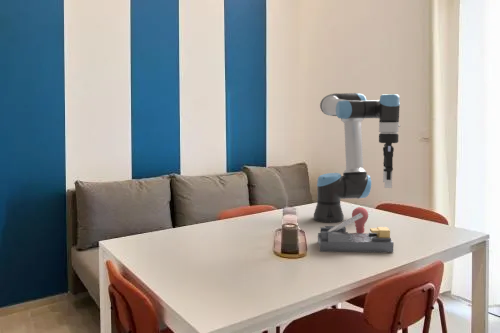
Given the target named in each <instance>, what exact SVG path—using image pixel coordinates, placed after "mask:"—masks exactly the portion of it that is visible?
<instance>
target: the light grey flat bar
mask: <svg viewBox="0 0 500 333" xmlns="http://www.w3.org/2000/svg"><path fill="white" fill-rule="evenodd" d="M362 217H363V215H362V214H361V213H359V214H357V215H356V216H354V217H352V216H351V217H350V218H349V219H347V220H343V221H342V222H341V223H339V224H337V225H334V226H335V227H333V228H331V229H330V230H328V232H336V231H338V230H339V229H341V228H343V227H345V228H346V227H347V226H349V225H351V224H352V223H355V222H354V221H356V220H358V219H360V218H362Z"/></svg>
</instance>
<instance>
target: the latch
mask: <svg viewBox="0 0 500 333" xmlns="http://www.w3.org/2000/svg"><path fill="white" fill-rule="evenodd" d="M369 232H370V233H377V237H378V238H391V230H390V228H389V227H388V226H377V227H375V228H374V227H369Z"/></svg>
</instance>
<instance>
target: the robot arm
mask: <svg viewBox="0 0 500 333" xmlns="http://www.w3.org/2000/svg"><path fill="white" fill-rule="evenodd" d="M400 100H401V99H400V95H399V94H394V93H391V94H390V93H386V94H381V95H380V97H379V99H377V100H375V99H373V100H371V99H370V100H367V97H366V96H365V95H364V94H363V93H359V92H358V93H356V92H353V93H352V92H349V93H347V92H346V93H331V94H328V95H326V96H324V97H323V98H322V99H321V101H320V104H319V107H320V111H321V112H322V113H323V114H324V115H326V116H330V117H337V118H338V119H340V121H341V122H343V124H344V125H343V127H344V146H345V147H344V148H345V149H344V150H345V170H344V171H343V172H342V174H343V175H342V174H341V173H340V172H329V173H328V172H327V173H324V174H321V175H319V176H318V177H317V182H316V188H317V190H316V191H317V192H316V194H317V195H316V207H315V209H314V213H313V219H314V220H315V221H317V222H320V223H329V224H330V223H340V222H344V221H345V220H344V213H343V209H342V206H341V200H342V199H343V200H345V199H350V200H351V199H358V200H359V199H365V198H367V197H368V196H369V195H370V193H371V190H372V179H371V175H369V174H367V173H368V172H367V171H366V169H365V168H364V156H363V155H364V154H363V153H364V152H363V135H362V134H363V131H362V122H363V121H364V120H365V119H378V120H379V121H378V122H379V123H378V132H379V134H378V143H380V144H383V147H382V151H383V163H382V164H383V172H382V174H383V175H382V183H384V188H385V189H392V188H393V170H394V168H393V165H394V164H393V158H394V150H395V149H394V146H393V144H397V143H399V132H400V131H399V128H400V127H401V124H400V105H401V102H400Z"/></svg>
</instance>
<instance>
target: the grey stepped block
mask: <svg viewBox="0 0 500 333" xmlns="http://www.w3.org/2000/svg"><path fill="white" fill-rule="evenodd" d="M335 226H336V225H325V226H324V227H323V226H322V227H321V226H320V227H319V229H320V230H319V232H318V233H317V244H318V248H319V252H321V253H323V252H329V253H331V252H332V253H333V252H335V253H337V252H338V253H339V252H340V253H383V252H393V253H394V241H393V240H392V238H391V237H390V238H378V237H377V233H371V232H368V233H357V232H355V233H353V232H352V233H350V232H348V231H347V228H346V226H345V227H343V228H341V229H339V230H338V231H336V232H328V230H330V229H331V228H333V227H335Z"/></svg>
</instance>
